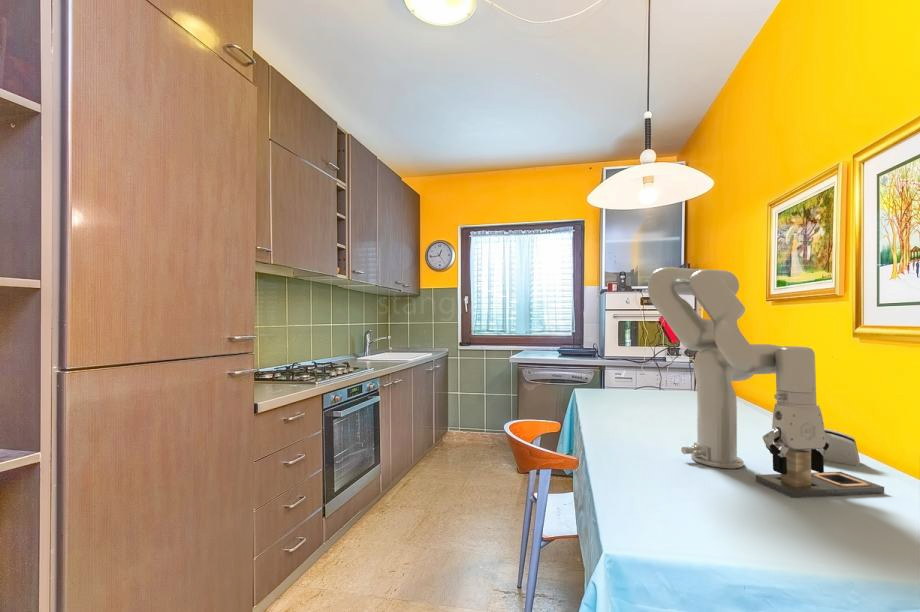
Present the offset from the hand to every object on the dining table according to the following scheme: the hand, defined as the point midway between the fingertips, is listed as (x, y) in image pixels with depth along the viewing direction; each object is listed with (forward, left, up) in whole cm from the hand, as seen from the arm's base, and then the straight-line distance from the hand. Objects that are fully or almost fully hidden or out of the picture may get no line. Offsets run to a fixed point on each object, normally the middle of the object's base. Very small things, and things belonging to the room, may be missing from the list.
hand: (798, 471), depth 102 cm
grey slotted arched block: (+28, +20, -4) cm, 35 cm away
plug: (0, +1, -4) cm, 4 cm away
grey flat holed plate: (+6, +1, -4) cm, 7 cm away
